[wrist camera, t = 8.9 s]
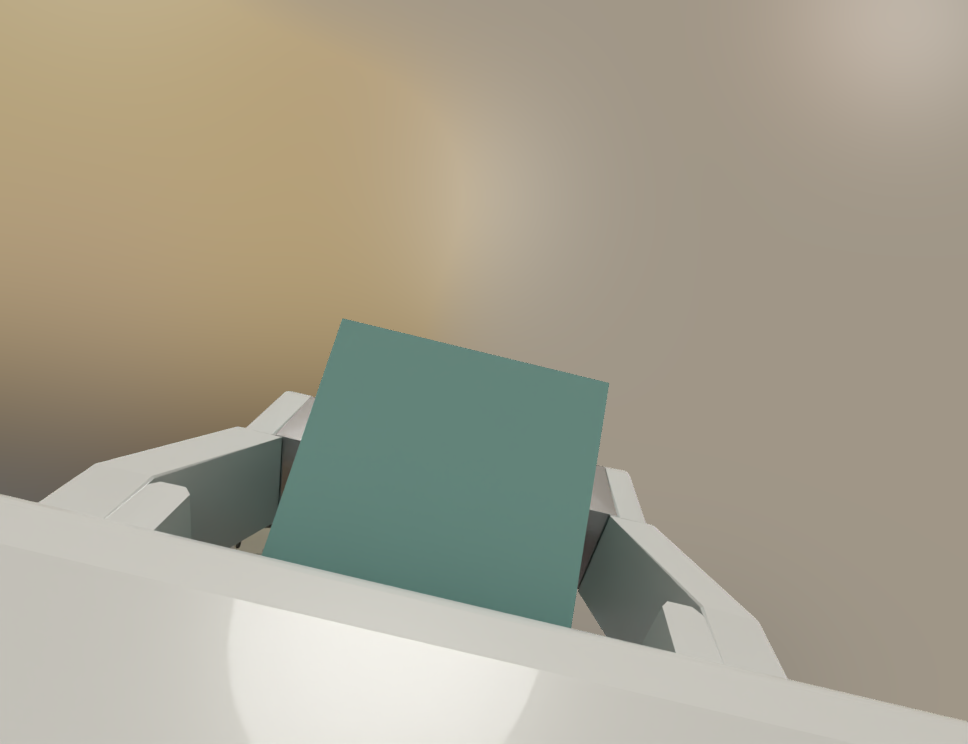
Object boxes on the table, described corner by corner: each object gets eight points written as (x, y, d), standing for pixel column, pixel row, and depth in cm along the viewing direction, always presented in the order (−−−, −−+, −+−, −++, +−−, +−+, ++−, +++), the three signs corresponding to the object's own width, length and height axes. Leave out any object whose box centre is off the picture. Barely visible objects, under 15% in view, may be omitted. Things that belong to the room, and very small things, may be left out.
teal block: (240, 615, 6) (342, 318, 7) (407, 528, 31) (423, 467, 32) (561, 689, 6) (609, 382, 7) (467, 542, 31) (481, 481, 32)
